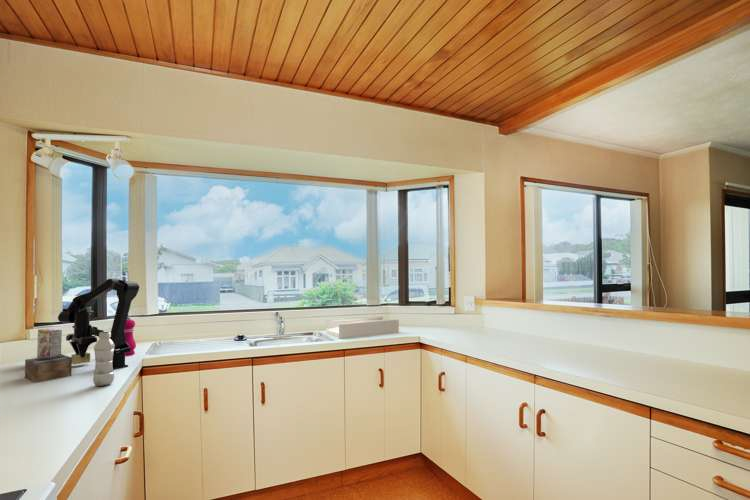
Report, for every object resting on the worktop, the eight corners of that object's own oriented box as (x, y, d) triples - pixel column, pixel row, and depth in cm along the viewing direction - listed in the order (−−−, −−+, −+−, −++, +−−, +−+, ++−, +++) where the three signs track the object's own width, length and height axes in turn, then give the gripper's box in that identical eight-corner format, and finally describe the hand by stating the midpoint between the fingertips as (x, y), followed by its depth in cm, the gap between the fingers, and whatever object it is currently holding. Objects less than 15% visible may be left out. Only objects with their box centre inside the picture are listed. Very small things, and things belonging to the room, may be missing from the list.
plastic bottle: (118, 383, 149) (119, 331, 150) (100, 388, 142) (102, 334, 143) (106, 382, 151) (107, 330, 152) (88, 387, 144) (90, 333, 145)
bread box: (339, 339, 244) (339, 324, 245) (326, 334, 264) (326, 320, 264) (398, 333, 266) (398, 319, 267) (382, 329, 285) (382, 316, 286)
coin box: (60, 371, 167) (61, 354, 168) (71, 375, 161) (71, 357, 161) (24, 378, 157) (25, 359, 158) (34, 382, 151) (35, 363, 151)
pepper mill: (127, 356, 196) (128, 317, 197) (115, 356, 198) (117, 317, 199) (139, 353, 203) (140, 315, 205) (127, 353, 205) (128, 315, 206)
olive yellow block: (86, 360, 181) (86, 352, 182) (90, 361, 179) (90, 353, 179) (71, 363, 176) (71, 354, 177) (74, 364, 174) (74, 355, 174)
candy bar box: (35, 364, 181) (37, 329, 182) (48, 362, 186) (49, 327, 187) (48, 366, 177) (50, 330, 178) (61, 364, 181) (62, 329, 182)
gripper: (110, 322, 180) (109, 356, 179) (93, 320, 191) (92, 351, 190) (82, 325, 171) (81, 360, 170) (66, 322, 181) (65, 356, 181)
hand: (80, 357), depth 178 cm, fingers closed on olive yellow block, 4 cm apart
